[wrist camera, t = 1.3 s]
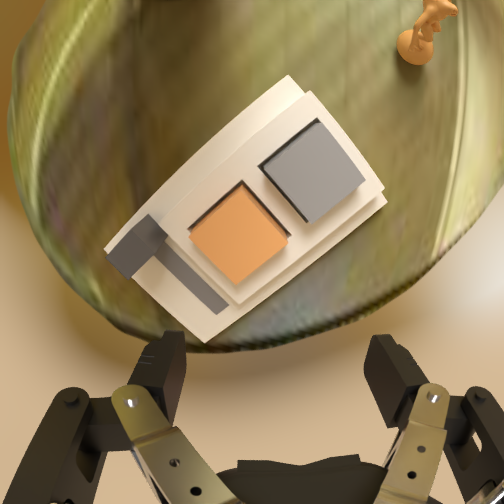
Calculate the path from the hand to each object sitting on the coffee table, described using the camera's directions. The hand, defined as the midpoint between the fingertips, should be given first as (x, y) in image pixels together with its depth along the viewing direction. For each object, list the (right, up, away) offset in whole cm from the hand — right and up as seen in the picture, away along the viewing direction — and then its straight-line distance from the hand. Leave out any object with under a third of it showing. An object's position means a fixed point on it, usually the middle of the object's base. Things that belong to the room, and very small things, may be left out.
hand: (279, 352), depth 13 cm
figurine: (+15, +26, +12) cm, 32 cm away
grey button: (+4, +12, +15) cm, 19 cm away
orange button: (-2, +6, +17) cm, 18 cm away
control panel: (-2, +7, +20) cm, 21 cm away
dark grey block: (-12, +6, +18) cm, 23 cm away
